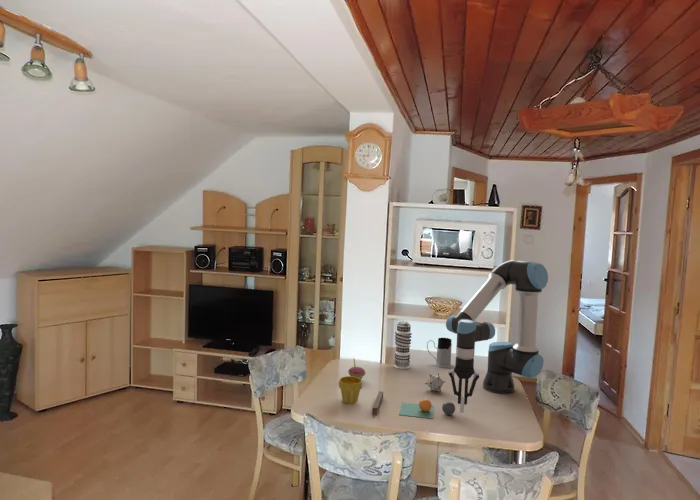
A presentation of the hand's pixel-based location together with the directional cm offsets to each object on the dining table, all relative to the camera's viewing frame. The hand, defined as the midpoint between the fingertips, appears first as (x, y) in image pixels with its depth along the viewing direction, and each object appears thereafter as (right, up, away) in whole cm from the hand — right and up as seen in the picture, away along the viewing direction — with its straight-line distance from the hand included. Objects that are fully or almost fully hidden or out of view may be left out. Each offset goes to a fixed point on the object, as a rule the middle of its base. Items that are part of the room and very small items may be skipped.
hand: (461, 411), depth 208 cm
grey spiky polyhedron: (-6, 0, +29) cm, 30 cm away
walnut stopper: (-35, 0, +7) cm, 36 cm away
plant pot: (-48, +1, +12) cm, 49 cm away
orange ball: (-15, +2, +3) cm, 16 cm away
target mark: (-19, -1, +4) cm, 19 cm away
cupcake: (-44, +2, +38) cm, 59 cm away
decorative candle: (-19, +3, +65) cm, 68 cm away
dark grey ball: (-5, +1, +1) cm, 6 cm away
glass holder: (+3, +3, +71) cm, 71 cm away
